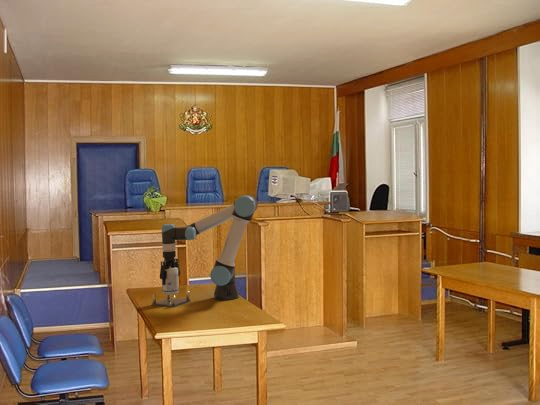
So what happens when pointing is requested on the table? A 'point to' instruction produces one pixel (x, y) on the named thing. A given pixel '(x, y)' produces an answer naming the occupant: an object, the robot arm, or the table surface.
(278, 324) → the table surface
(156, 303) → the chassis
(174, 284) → the supplement tub
